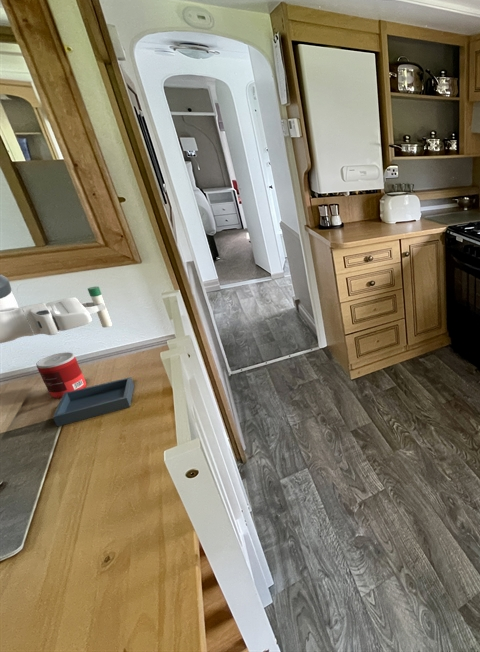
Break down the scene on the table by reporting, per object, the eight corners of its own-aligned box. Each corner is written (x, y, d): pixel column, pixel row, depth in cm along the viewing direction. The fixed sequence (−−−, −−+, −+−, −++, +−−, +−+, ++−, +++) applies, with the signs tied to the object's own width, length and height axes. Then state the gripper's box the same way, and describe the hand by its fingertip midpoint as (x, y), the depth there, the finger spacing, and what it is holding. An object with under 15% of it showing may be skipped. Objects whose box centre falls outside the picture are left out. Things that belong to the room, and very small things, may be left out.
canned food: (88, 380, 117) (75, 349, 113) (86, 392, 111) (72, 360, 107) (53, 389, 112) (38, 357, 108) (49, 402, 106) (33, 369, 102)
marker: (101, 328, 123) (86, 289, 118) (102, 325, 125) (88, 287, 120) (112, 326, 124) (98, 288, 119) (113, 323, 126) (99, 285, 121)
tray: (57, 426, 97) (52, 417, 96) (68, 401, 107) (63, 392, 106) (130, 407, 105) (126, 397, 104) (134, 385, 115) (131, 376, 114)
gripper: (41, 318, 119) (99, 305, 130) (52, 337, 108) (114, 321, 118) (32, 300, 117) (92, 288, 127) (43, 317, 106) (108, 303, 116)
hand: (103, 304), depth 123 cm, fingers closed on marker, 2 cm apart
